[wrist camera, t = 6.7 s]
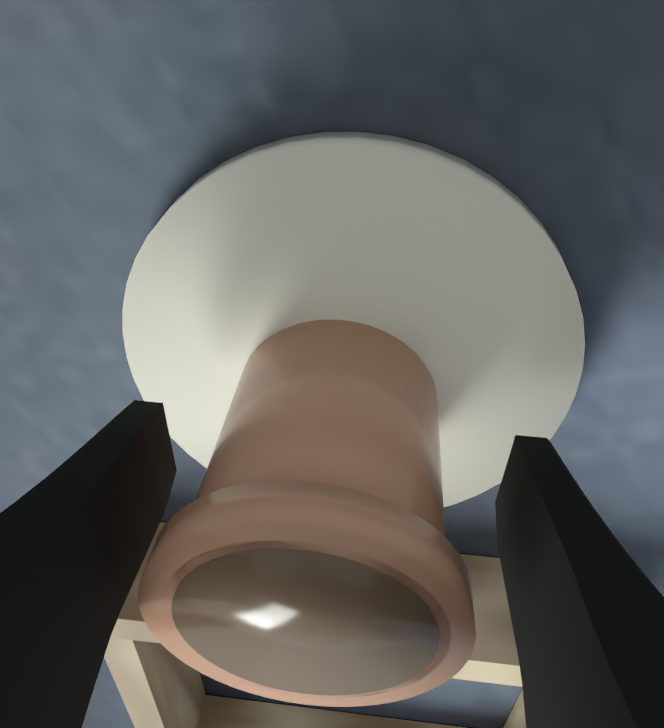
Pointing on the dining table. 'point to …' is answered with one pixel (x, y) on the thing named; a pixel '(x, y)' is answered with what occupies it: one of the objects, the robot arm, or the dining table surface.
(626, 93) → the dining table surface
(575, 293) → the saucer
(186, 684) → the cold frame
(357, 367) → the terracotta pot
